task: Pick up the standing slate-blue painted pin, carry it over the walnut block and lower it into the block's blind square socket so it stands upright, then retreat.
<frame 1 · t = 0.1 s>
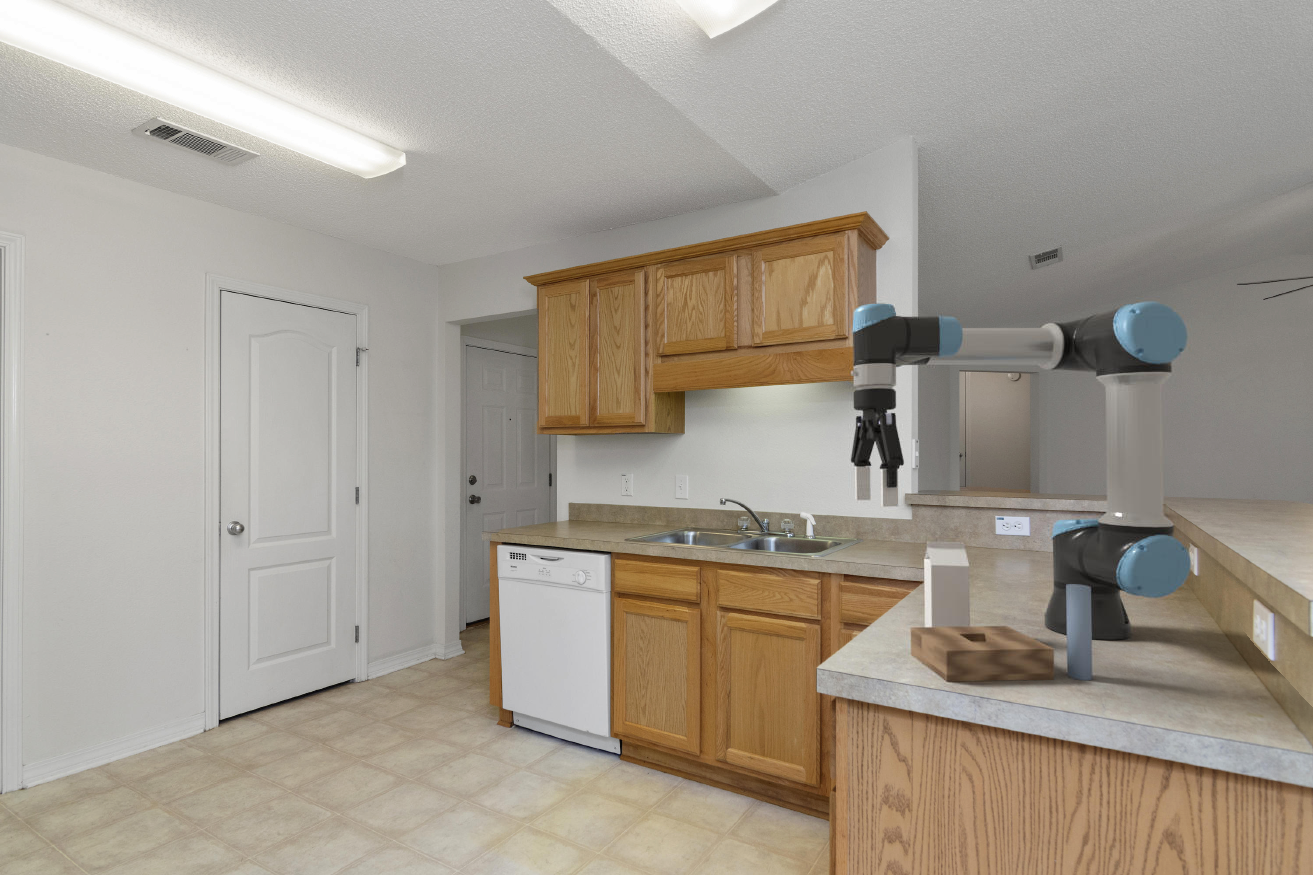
hand: (875, 503, 124), 28 cm above the worktop, fingers open, 13 cm apart
pin: (1079, 676, 112), on the worktop
milk carton: (946, 637, 135), on the worktop
bore block: (978, 666, 117), on the worktop
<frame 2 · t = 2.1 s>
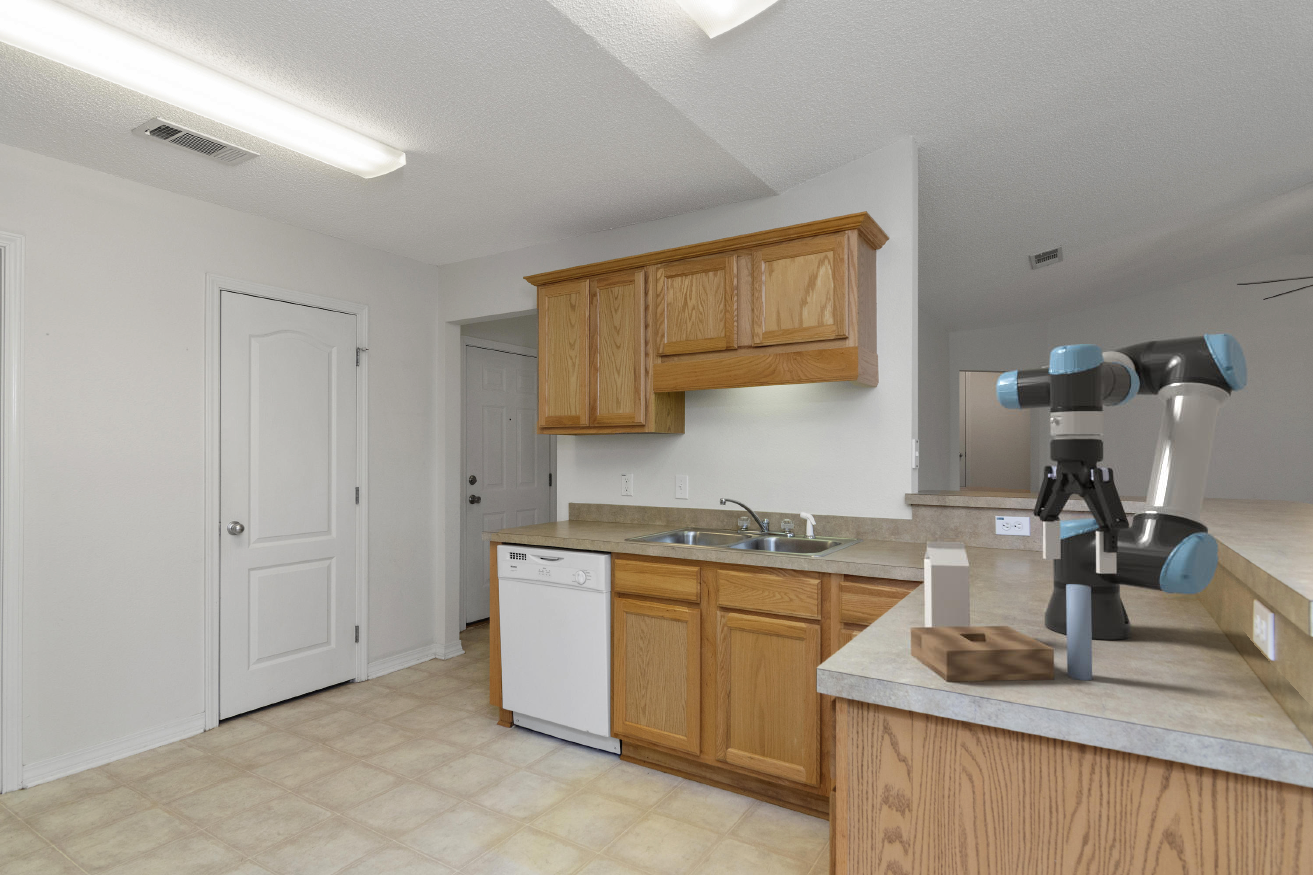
hand: (1077, 565, 112), 18 cm above the worktop, fingers open, 13 cm apart
nothing on the worktop moved.
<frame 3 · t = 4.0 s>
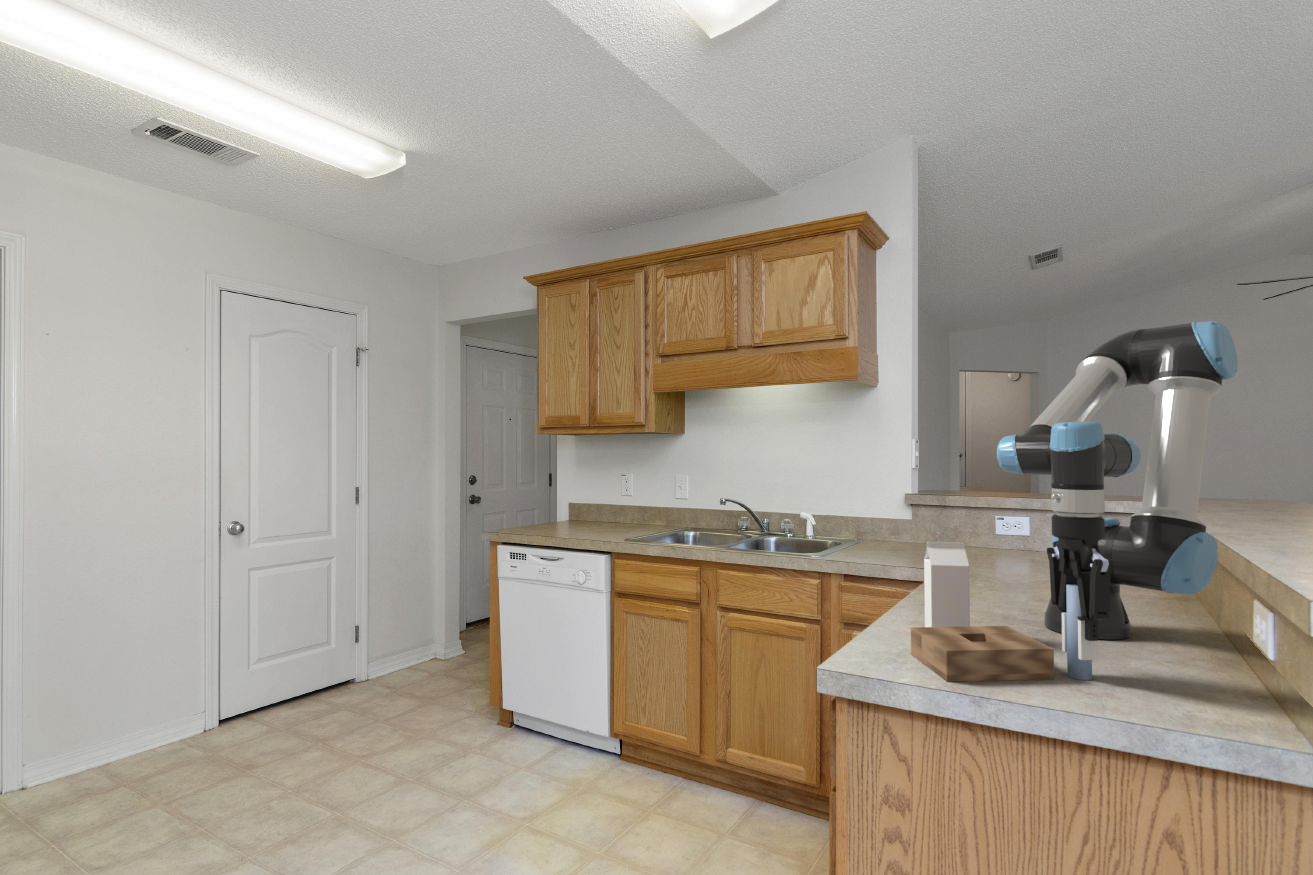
hand: (1079, 654, 112), 4 cm above the worktop, fingers closed on pin, 3 cm apart
pin: (1079, 676, 112), on the worktop, touching gripper
everything else where it was.
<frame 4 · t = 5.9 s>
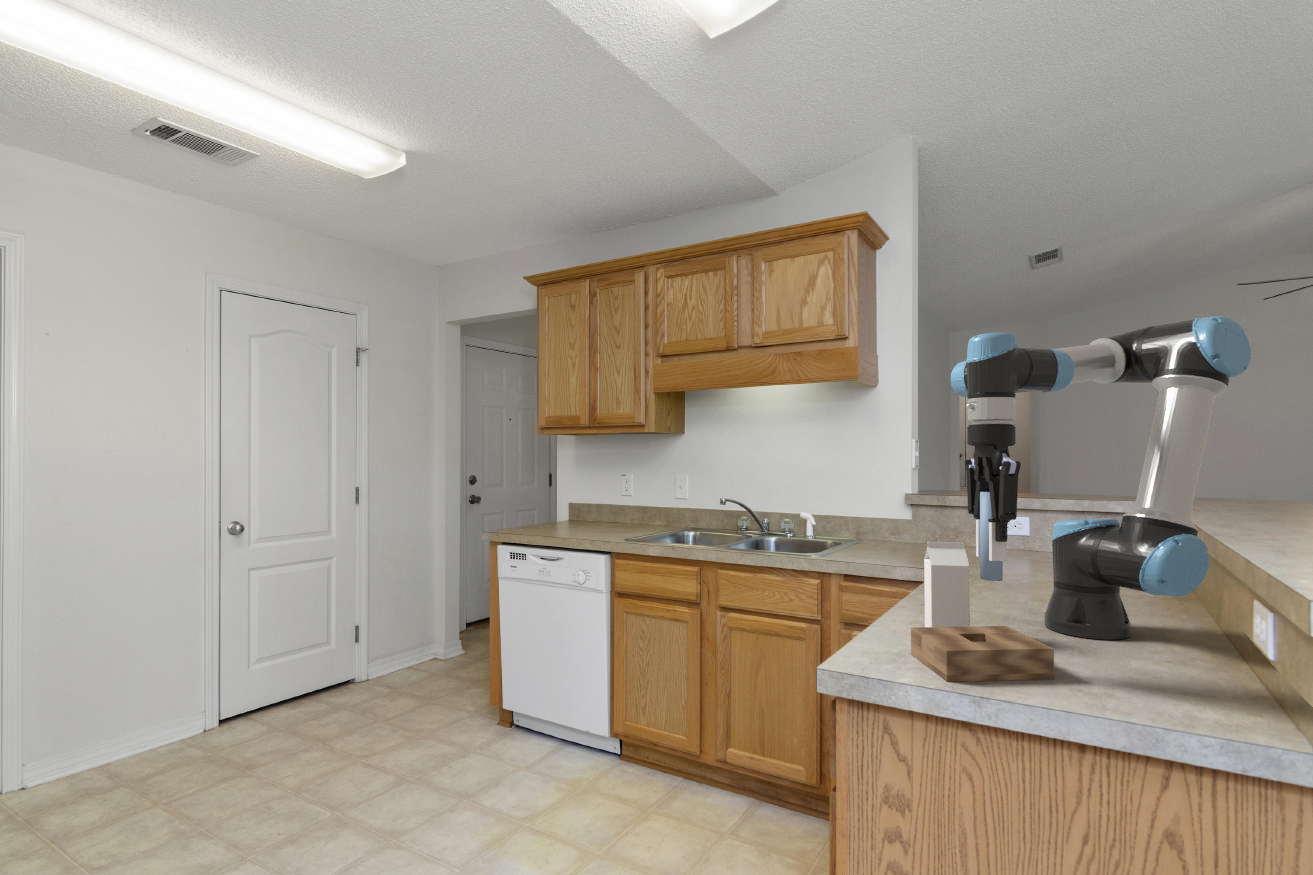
hand: (991, 558, 116), 19 cm above the worktop, fingers closed on pin, 3 cm apart
pin: (991, 579, 116), point 15 cm above the worktop, touching gripper
everything else where it was.
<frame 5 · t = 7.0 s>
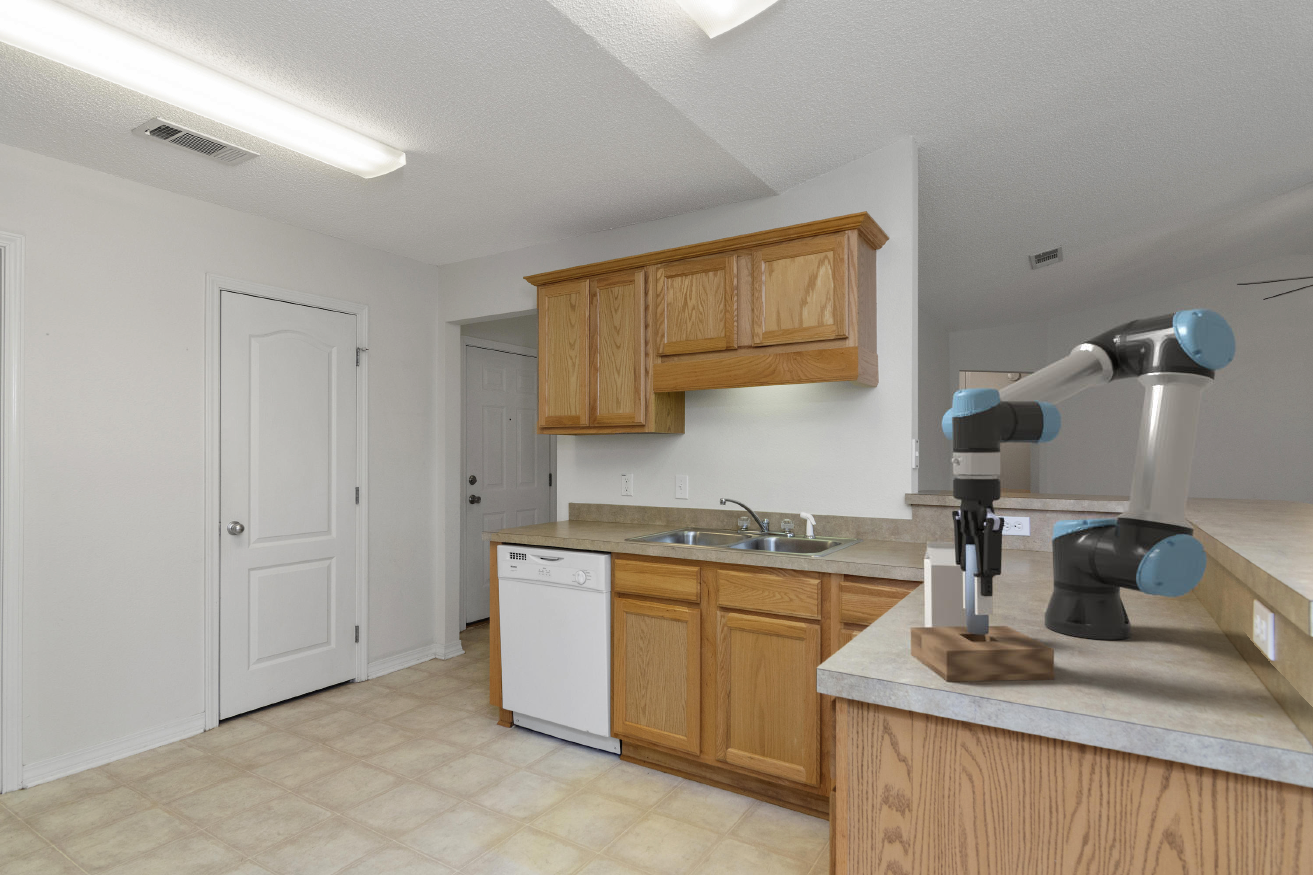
hand: (977, 610, 117), 10 cm above the worktop, fingers closed on pin, 3 cm apart
pin: (977, 631, 117), point 6 cm above the worktop, touching gripper
everything else where it was.
when the fingers open (7 cm above the worktop, at t = 7.8 s): pin drops 1 cm, resting on bore block.
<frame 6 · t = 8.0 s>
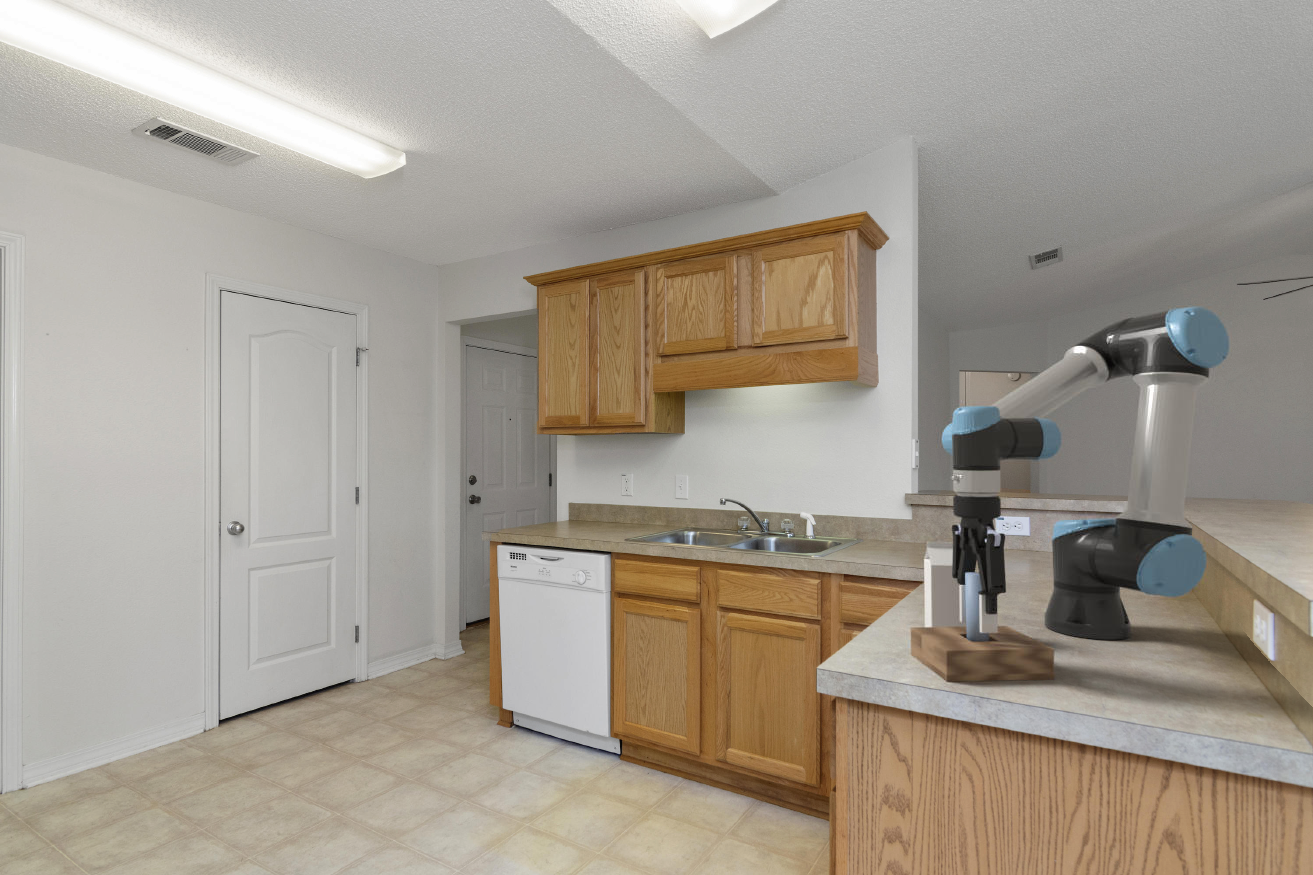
hand: (978, 626, 117), 7 cm above the worktop, fingers open, 6 cm apart
pin: (978, 660, 117), point 1 cm above the worktop, touching bore block
everything else where it was.
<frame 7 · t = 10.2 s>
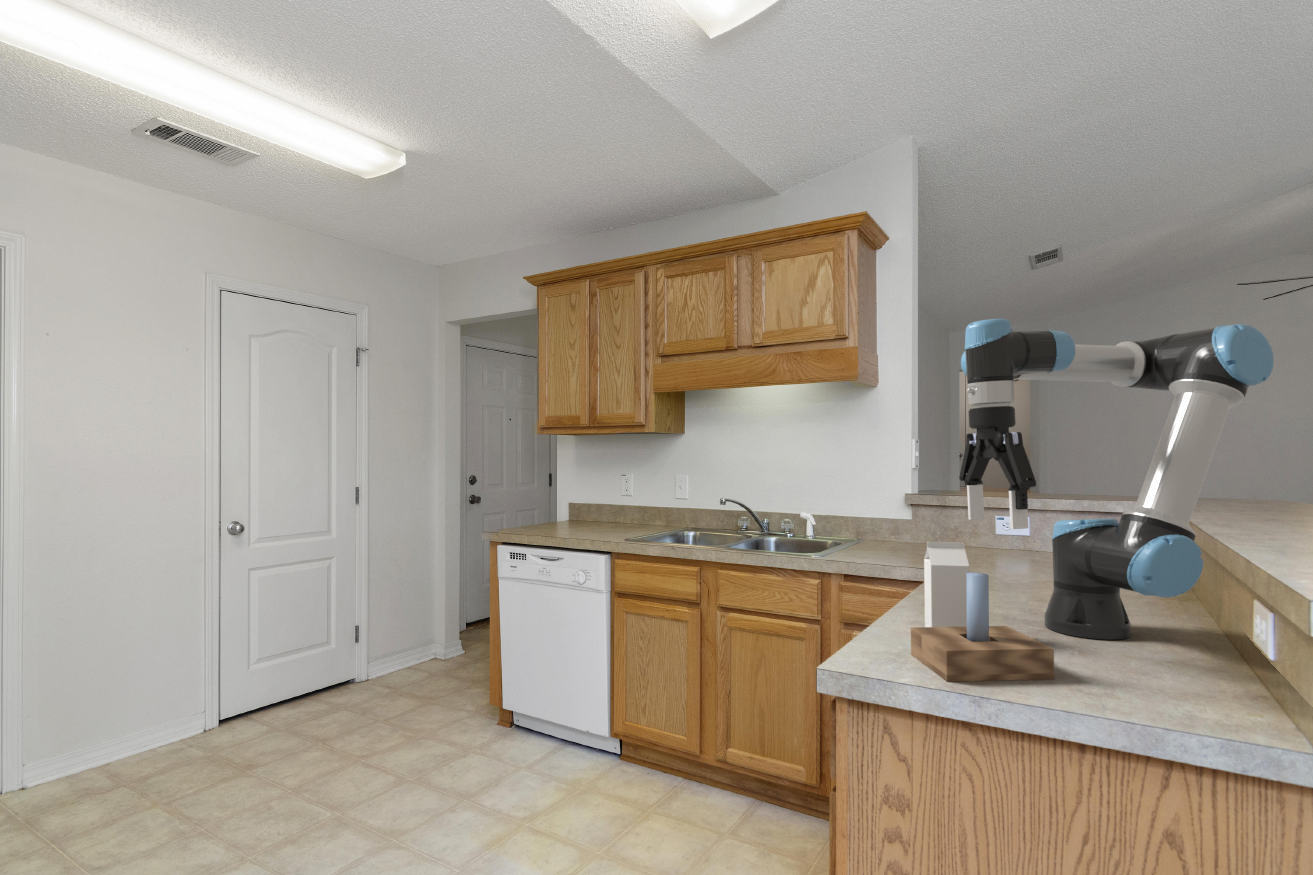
hand: (996, 523, 121), 24 cm above the worktop, fingers open, 13 cm apart
nothing on the worktop moved.
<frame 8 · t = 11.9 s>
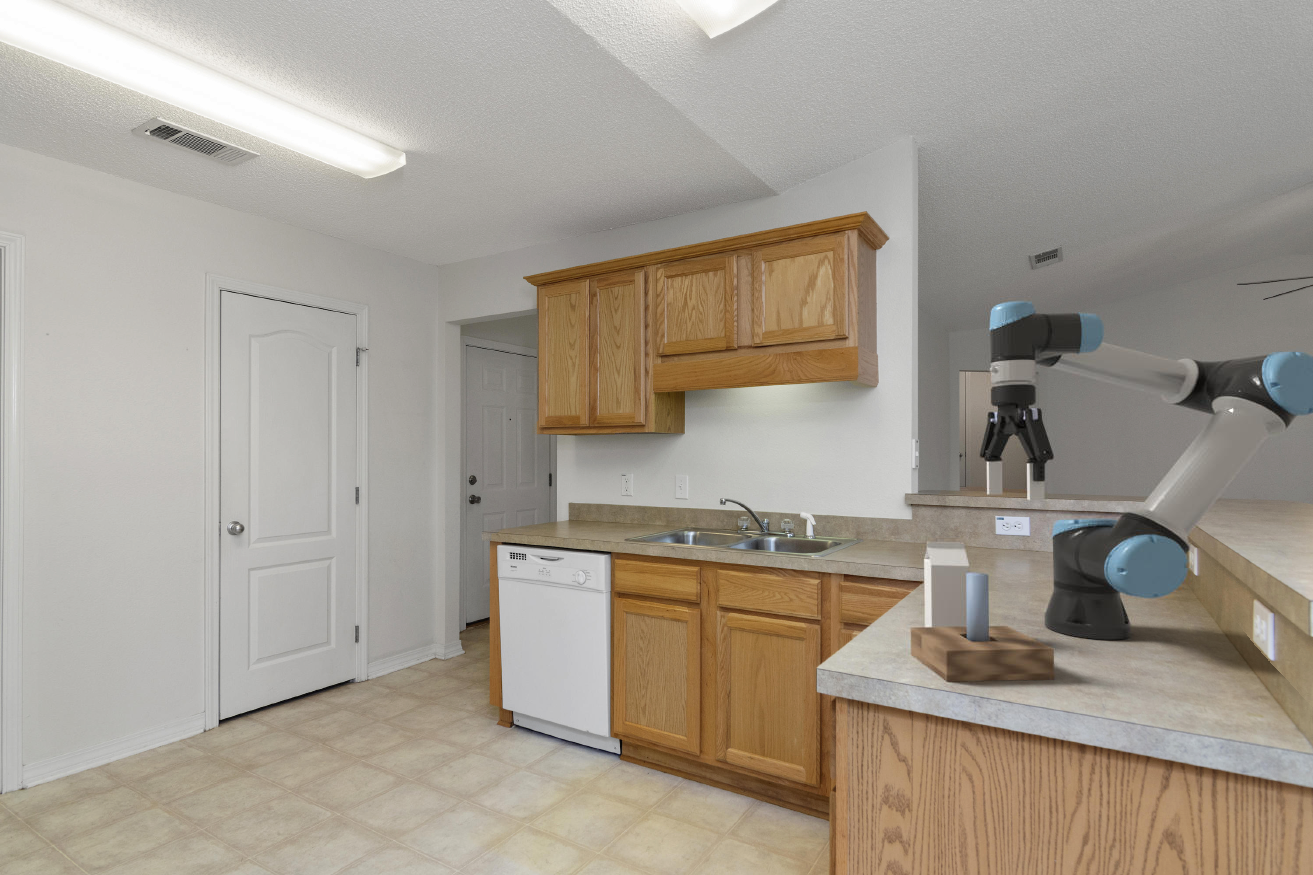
hand: (1014, 497, 127), 29 cm above the worktop, fingers open, 13 cm apart
nothing on the worktop moved.
at the end: pin 0.1 cm off-centre on the bore block, point 1.0 cm above the bore block's base; pin tilted 0°; the gripper is holding nothing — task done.
